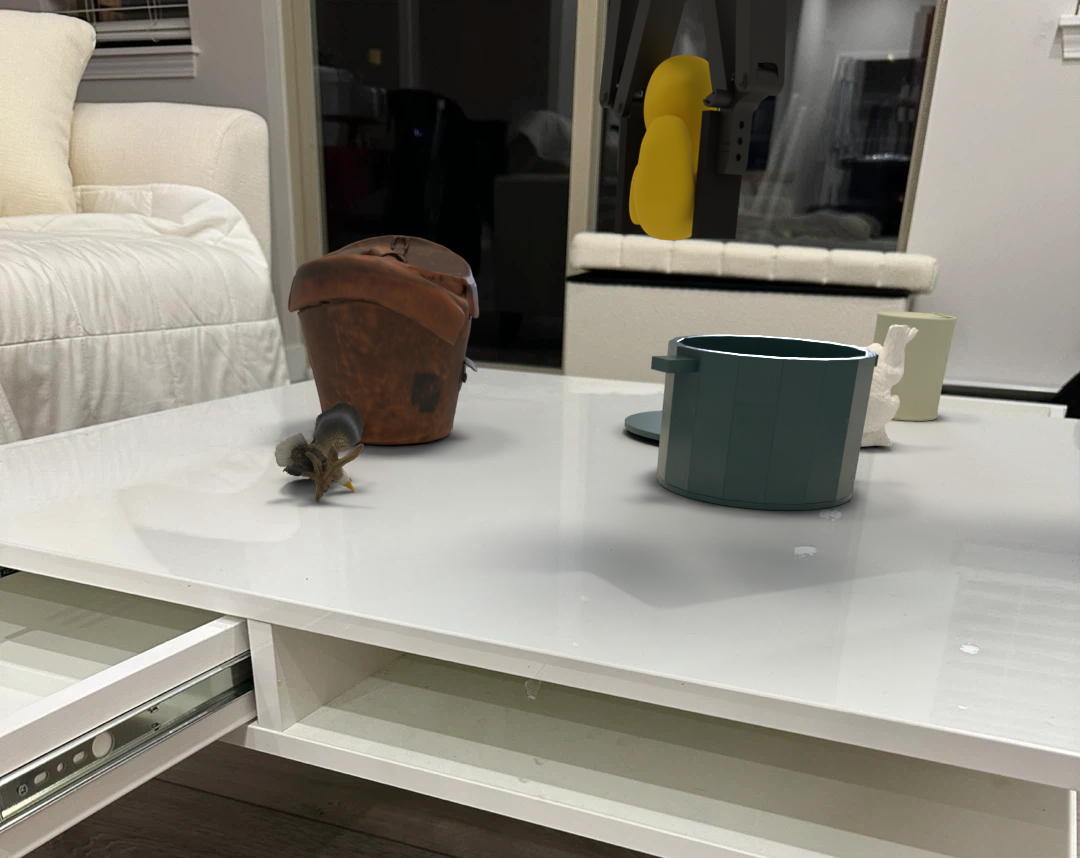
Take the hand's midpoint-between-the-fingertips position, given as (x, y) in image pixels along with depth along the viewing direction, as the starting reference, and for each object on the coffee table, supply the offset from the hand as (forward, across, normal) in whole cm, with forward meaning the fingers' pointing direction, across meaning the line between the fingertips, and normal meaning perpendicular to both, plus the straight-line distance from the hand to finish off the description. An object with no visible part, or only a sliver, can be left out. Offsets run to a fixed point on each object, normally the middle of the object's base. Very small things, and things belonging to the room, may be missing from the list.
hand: (672, 235), depth 66 cm
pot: (+20, -11, +19) cm, 29 cm away
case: (+20, -41, -3) cm, 46 cm away
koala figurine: (+20, -22, +43) cm, 52 cm away
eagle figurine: (+20, -22, -16) cm, 33 cm away
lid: (+19, -31, +29) cm, 47 cm away
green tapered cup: (+20, -36, +62) cm, 74 cm away
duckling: (0, 0, 0) cm, 1 cm away
